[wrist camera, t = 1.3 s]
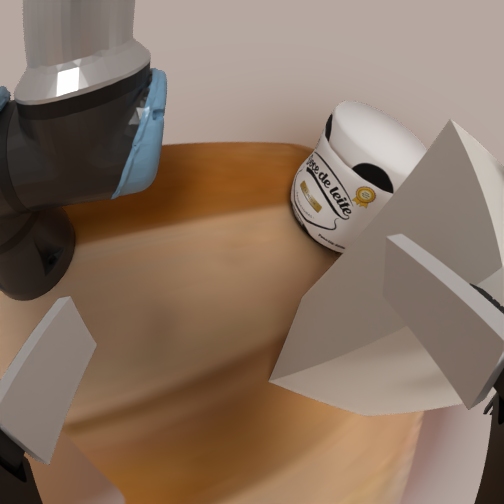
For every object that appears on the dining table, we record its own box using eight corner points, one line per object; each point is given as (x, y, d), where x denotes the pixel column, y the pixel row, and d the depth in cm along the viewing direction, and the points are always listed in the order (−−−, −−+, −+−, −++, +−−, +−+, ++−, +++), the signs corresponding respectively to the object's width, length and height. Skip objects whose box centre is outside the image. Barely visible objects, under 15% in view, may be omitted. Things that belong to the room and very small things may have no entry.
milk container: (264, 221, 41) (307, 119, 26) (308, 166, 50) (345, 86, 35) (362, 283, 39) (442, 210, 24) (384, 215, 48) (438, 147, 33)
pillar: (364, 415, 29) (580, 359, 5) (268, 381, 29) (502, 266, 6) (385, 336, 35) (551, 225, 12) (302, 296, 36) (450, 118, 12)
